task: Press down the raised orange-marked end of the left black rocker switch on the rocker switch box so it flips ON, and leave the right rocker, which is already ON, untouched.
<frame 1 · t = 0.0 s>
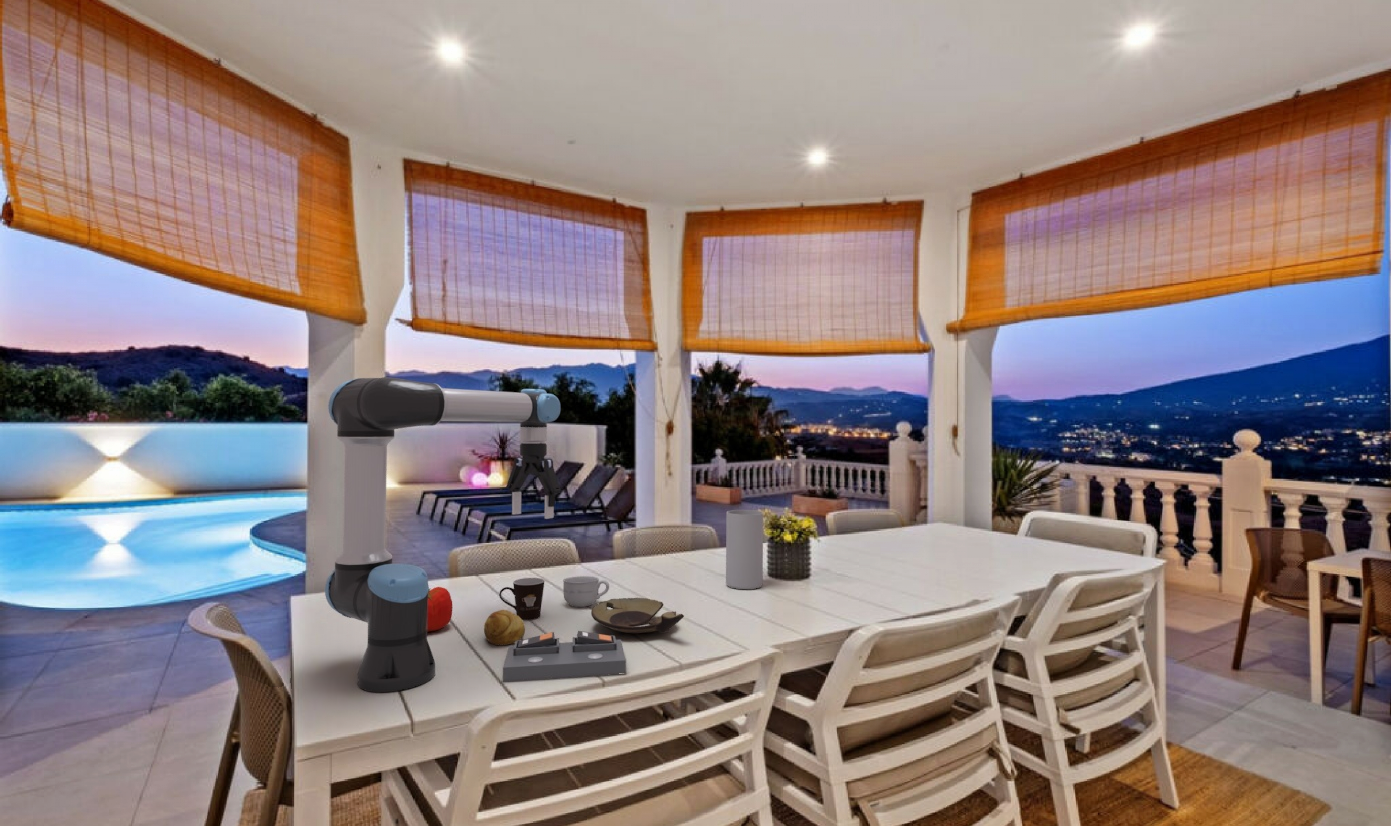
hand: (532, 516, 188), 28 cm above the table, tool pointing down, fingers open, 13 cm apart
teacup: (585, 605, 197), on the table
oil lamp: (636, 632, 173), on the table
rocker switch box: (565, 665, 148), on the table
left rocker: (536, 641, 150), point 5 cm above the table, hinge at -12.0°
right rocker: (594, 638, 152), point 5 cm above the table, hinge at 12.0°
cylinder vase: (744, 586, 223), on the table
bread roll: (503, 640, 166), on the table
tomato: (424, 630, 173), on the table
coffee mug: (523, 617, 185), on the table
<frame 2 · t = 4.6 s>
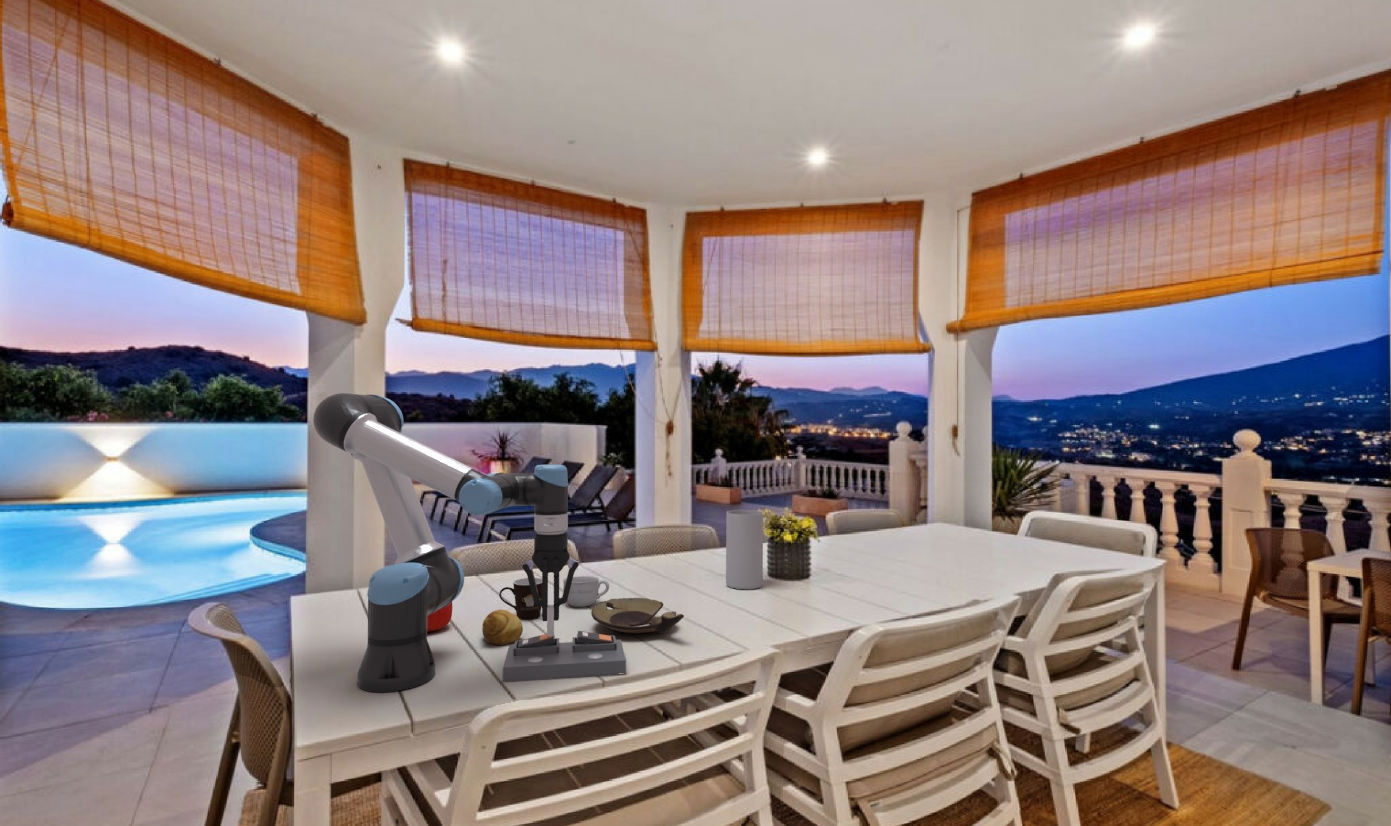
hand: (550, 634, 150), 6 cm above the table, tool pointing down, fingers closed
left rocker: (536, 641, 150), point 5 cm above the table, hinge at -12.0°, touching gripper
everything else where it was.
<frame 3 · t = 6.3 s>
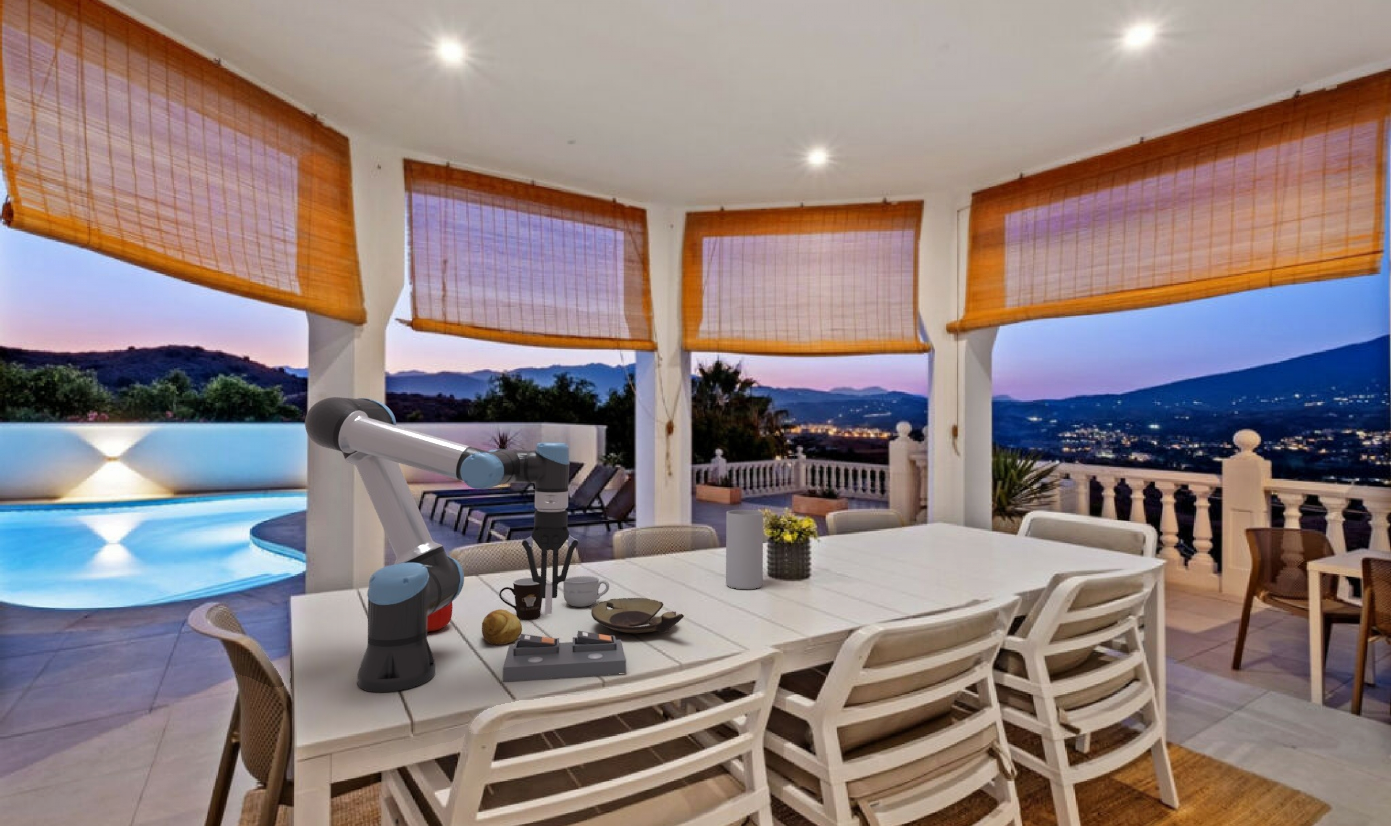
hand: (548, 612, 150), 11 cm above the table, tool pointing down, fingers closed
left rocker: (537, 641, 150), point 5 cm above the table, hinge at 10.9°
everything else where it was.
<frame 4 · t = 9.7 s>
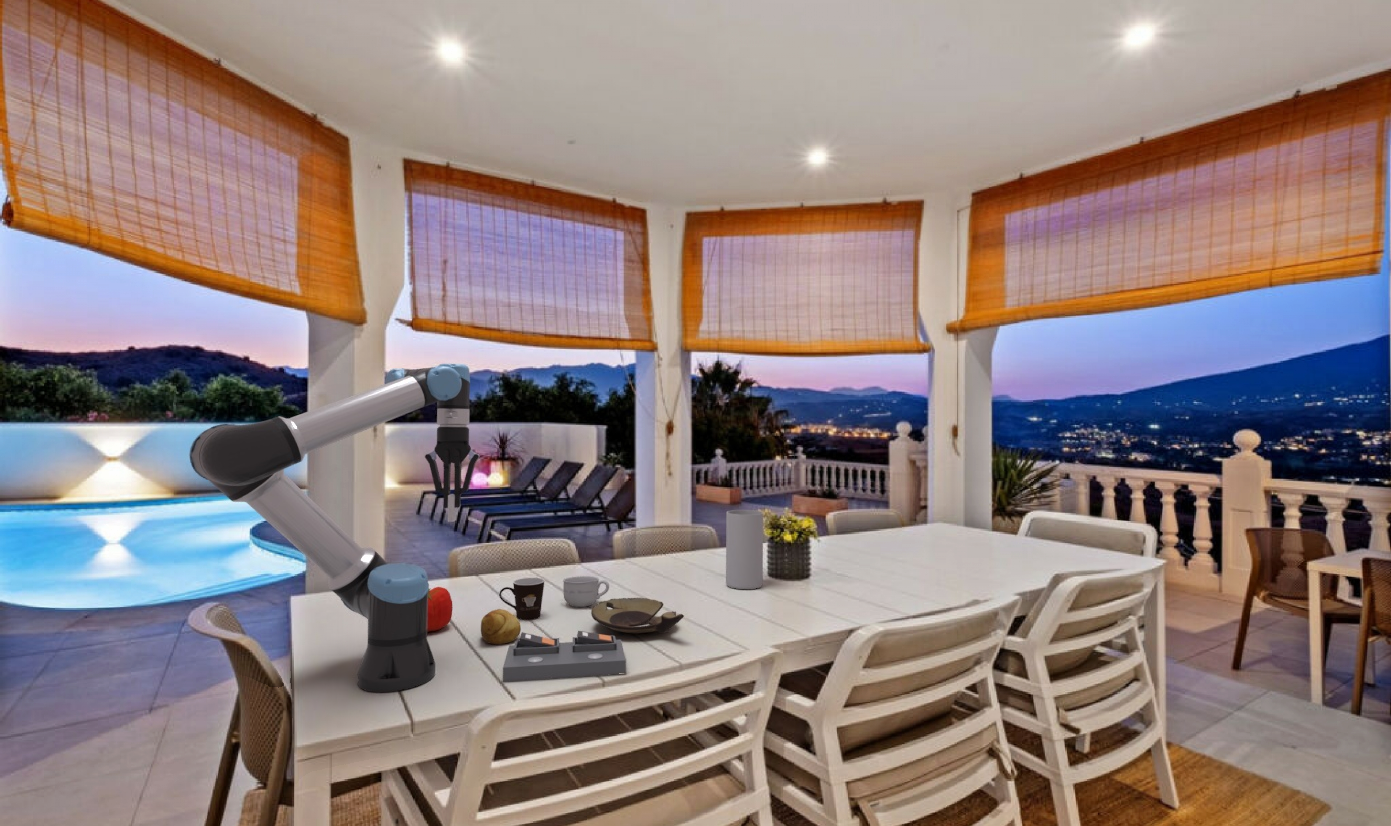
hand: (451, 520, 162), 30 cm above the table, tool pointing down, fingers closed
left rocker: (537, 641, 150), point 5 cm above the table, hinge at 16.4°
at the end: left rocker at +16° (first picture: -12°); right rocker at +12° (first picture: +12°) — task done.
